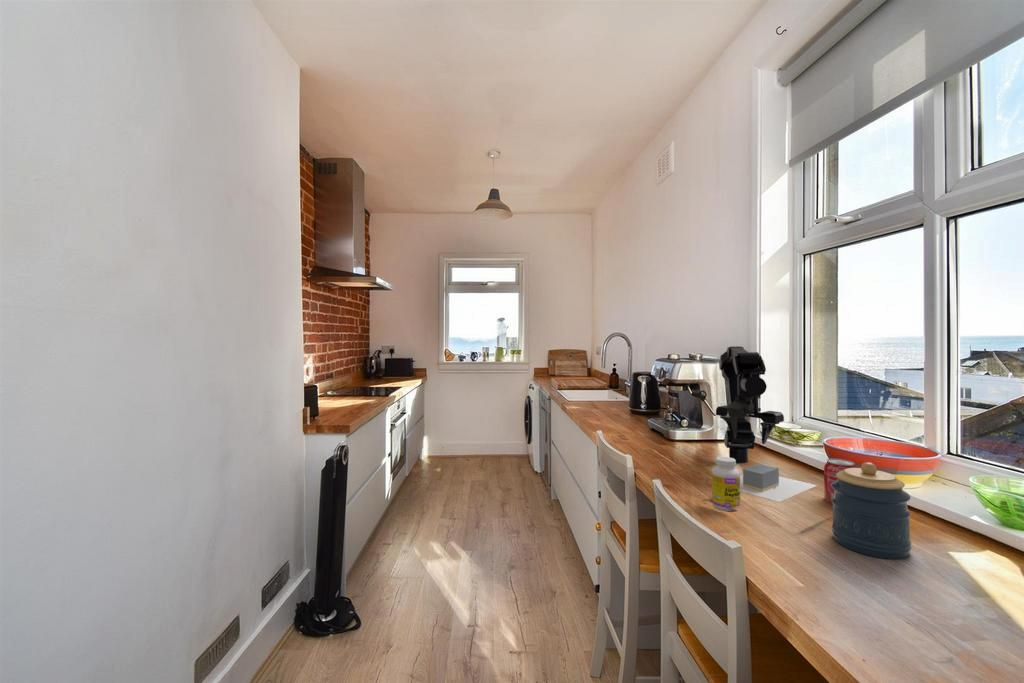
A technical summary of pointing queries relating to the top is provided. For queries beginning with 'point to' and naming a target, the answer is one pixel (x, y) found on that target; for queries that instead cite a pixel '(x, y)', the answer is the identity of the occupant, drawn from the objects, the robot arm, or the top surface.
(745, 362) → the robot arm
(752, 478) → the block
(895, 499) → the canister
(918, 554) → the top surface
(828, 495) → the soda can
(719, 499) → the supplement bottle
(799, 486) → the board
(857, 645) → the top surface
